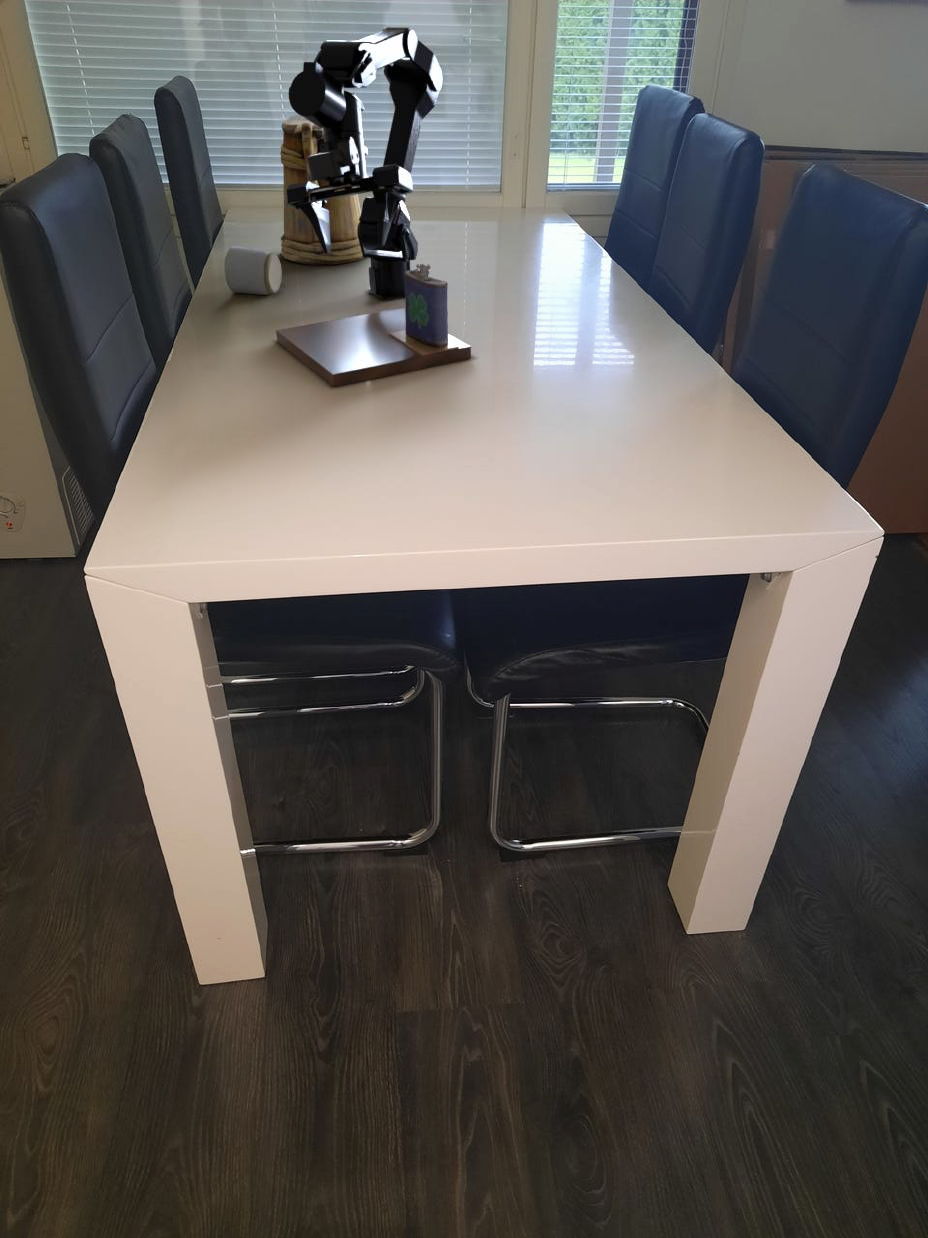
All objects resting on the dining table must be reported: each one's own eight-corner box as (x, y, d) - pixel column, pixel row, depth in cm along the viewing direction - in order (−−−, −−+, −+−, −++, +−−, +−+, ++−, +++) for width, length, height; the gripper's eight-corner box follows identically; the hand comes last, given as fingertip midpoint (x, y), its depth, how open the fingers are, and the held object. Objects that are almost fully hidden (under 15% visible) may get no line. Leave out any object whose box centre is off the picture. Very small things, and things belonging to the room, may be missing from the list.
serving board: (402, 318, 142) (402, 305, 141) (471, 358, 127) (471, 344, 125) (277, 341, 133) (275, 327, 132) (334, 387, 118) (332, 372, 116)
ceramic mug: (270, 300, 150) (264, 253, 146) (227, 297, 152) (220, 251, 147) (292, 284, 159) (287, 240, 154) (251, 282, 160) (245, 238, 156)
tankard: (369, 242, 184) (361, 108, 170) (370, 271, 166) (361, 123, 151) (285, 244, 183) (268, 109, 168) (276, 274, 164) (257, 124, 149)
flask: (452, 345, 125) (450, 268, 118) (435, 350, 123) (433, 272, 117) (416, 330, 131) (412, 255, 124) (400, 333, 129) (396, 259, 123)
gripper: (259, 133, 122) (272, 249, 126) (377, 106, 116) (388, 229, 119) (299, 155, 133) (310, 261, 136) (409, 131, 126) (418, 244, 129)
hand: (354, 249), depth 130 cm, fingers open, 9 cm apart
